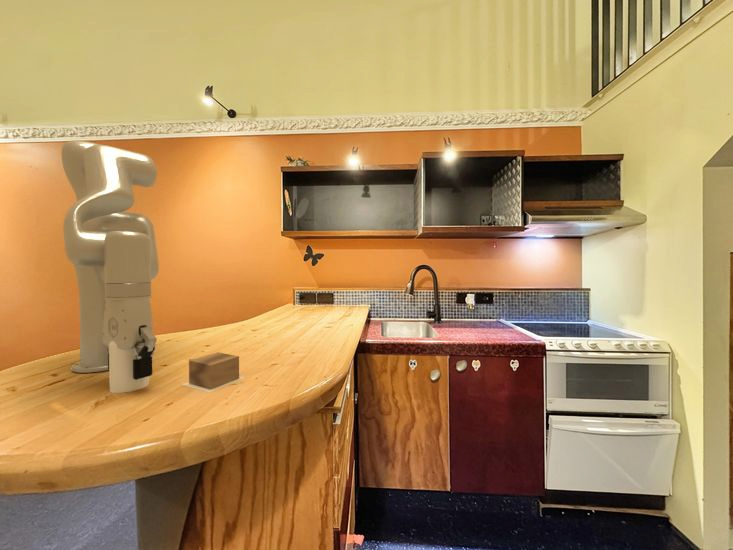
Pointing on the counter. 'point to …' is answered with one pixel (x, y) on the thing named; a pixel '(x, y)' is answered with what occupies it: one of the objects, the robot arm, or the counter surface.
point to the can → (123, 370)
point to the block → (213, 370)
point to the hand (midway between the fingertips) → (129, 373)
